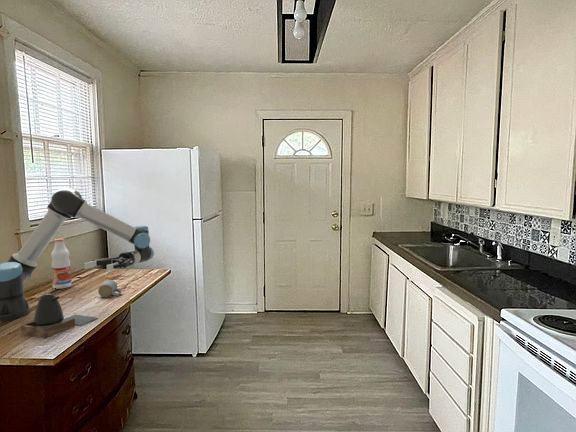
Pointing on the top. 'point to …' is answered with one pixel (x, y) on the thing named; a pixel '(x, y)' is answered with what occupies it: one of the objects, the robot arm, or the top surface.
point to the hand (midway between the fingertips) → (95, 267)
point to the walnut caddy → (46, 333)
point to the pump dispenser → (48, 312)
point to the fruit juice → (60, 265)
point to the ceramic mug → (109, 289)
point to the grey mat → (80, 319)
